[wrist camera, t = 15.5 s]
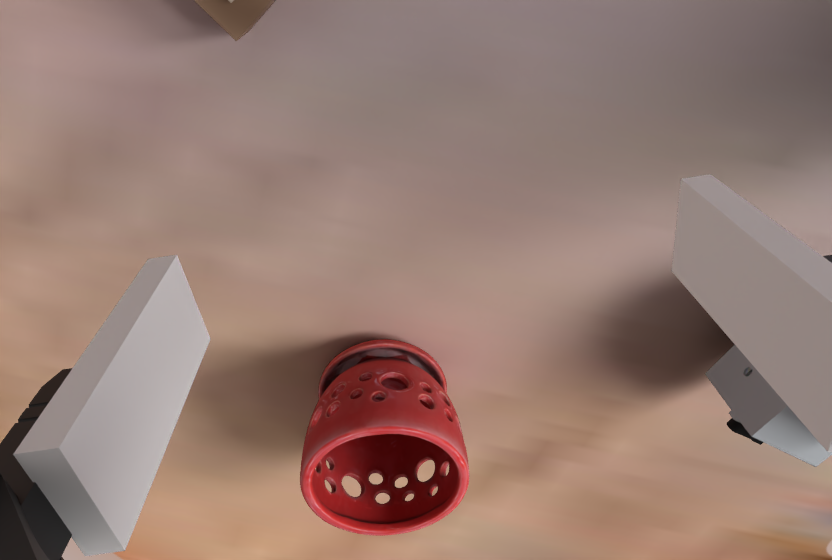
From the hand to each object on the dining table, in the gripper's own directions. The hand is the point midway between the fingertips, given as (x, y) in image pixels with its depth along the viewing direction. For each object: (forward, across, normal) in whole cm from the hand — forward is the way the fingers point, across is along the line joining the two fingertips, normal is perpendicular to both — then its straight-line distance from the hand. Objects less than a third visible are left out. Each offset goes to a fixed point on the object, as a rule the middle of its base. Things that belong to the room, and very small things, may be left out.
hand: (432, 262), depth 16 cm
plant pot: (+29, -6, -28) cm, 41 cm away
